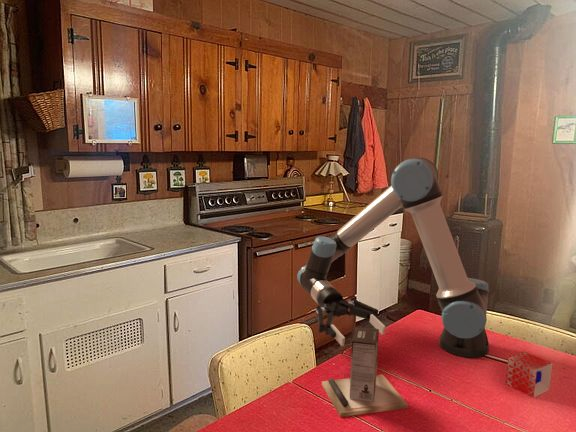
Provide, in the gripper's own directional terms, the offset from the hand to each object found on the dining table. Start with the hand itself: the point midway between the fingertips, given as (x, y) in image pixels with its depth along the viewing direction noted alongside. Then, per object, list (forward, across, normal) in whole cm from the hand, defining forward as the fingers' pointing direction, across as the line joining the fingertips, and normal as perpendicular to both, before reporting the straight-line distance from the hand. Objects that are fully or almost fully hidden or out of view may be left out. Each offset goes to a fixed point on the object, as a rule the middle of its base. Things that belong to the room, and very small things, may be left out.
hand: (364, 336), depth 128 cm
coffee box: (+11, +6, -8) cm, 15 cm away
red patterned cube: (+26, -38, -10) cm, 47 cm away
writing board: (+11, +6, -9) cm, 16 cm away
